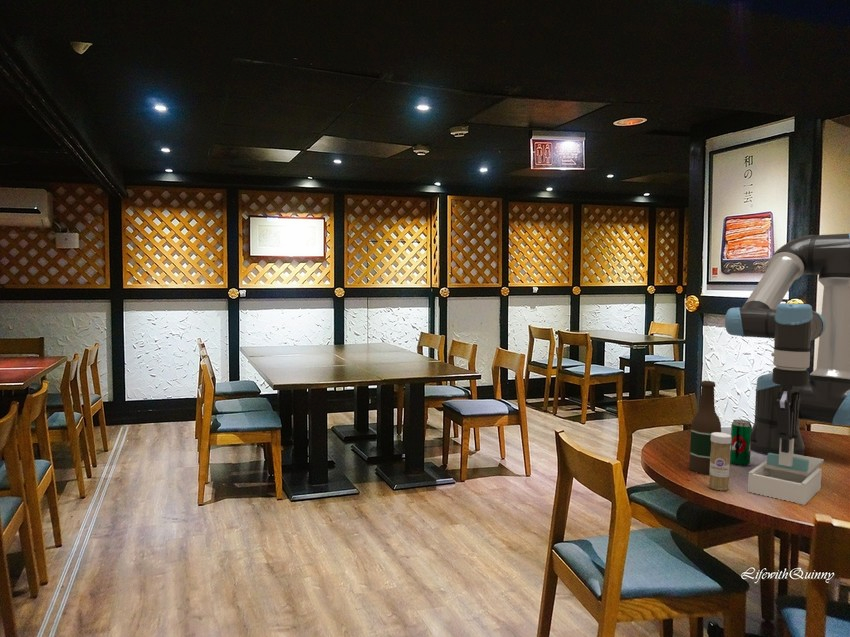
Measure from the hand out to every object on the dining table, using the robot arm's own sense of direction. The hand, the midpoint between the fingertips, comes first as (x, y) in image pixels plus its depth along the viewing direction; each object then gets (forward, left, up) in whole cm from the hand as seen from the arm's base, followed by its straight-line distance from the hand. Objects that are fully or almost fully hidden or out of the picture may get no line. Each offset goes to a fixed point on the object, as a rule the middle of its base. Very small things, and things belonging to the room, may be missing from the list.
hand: (785, 464), depth 153 cm
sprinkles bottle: (+10, -12, -7) cm, 17 cm away
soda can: (-16, -15, -7) cm, 23 cm away
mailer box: (0, 0, -6) cm, 6 cm away
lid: (-9, 0, -2) cm, 9 cm away
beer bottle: (-3, -20, -7) cm, 21 cm away
